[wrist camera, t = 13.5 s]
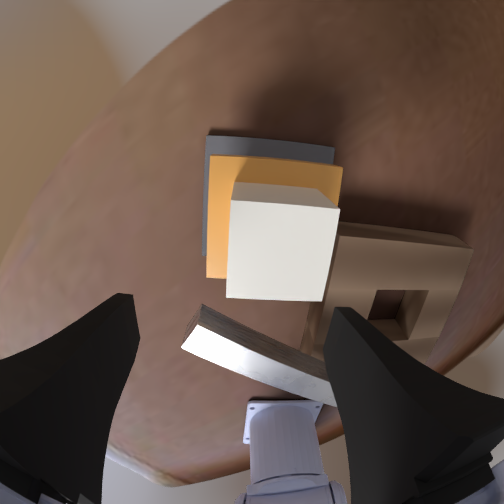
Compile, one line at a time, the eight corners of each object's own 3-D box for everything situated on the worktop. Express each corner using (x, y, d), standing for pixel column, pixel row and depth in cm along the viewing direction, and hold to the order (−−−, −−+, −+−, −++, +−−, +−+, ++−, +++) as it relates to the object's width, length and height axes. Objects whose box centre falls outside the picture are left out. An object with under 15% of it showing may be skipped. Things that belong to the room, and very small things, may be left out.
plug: (307, 251, 20) (341, 323, 12) (213, 246, 19) (197, 319, 12) (321, 158, 17) (374, 182, 10) (218, 149, 17) (198, 165, 10)
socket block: (411, 346, 25) (423, 365, 22) (299, 351, 24) (304, 376, 21) (453, 235, 20) (474, 249, 17) (326, 220, 19) (339, 235, 17)
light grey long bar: (355, 364, 21) (367, 395, 18) (338, 379, 22) (348, 410, 18) (204, 291, 18) (197, 325, 15) (190, 312, 18) (181, 347, 15)
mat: (315, 259, 21) (317, 262, 20) (203, 252, 20) (202, 255, 20) (332, 147, 17) (334, 147, 17) (207, 135, 17) (206, 135, 16)
